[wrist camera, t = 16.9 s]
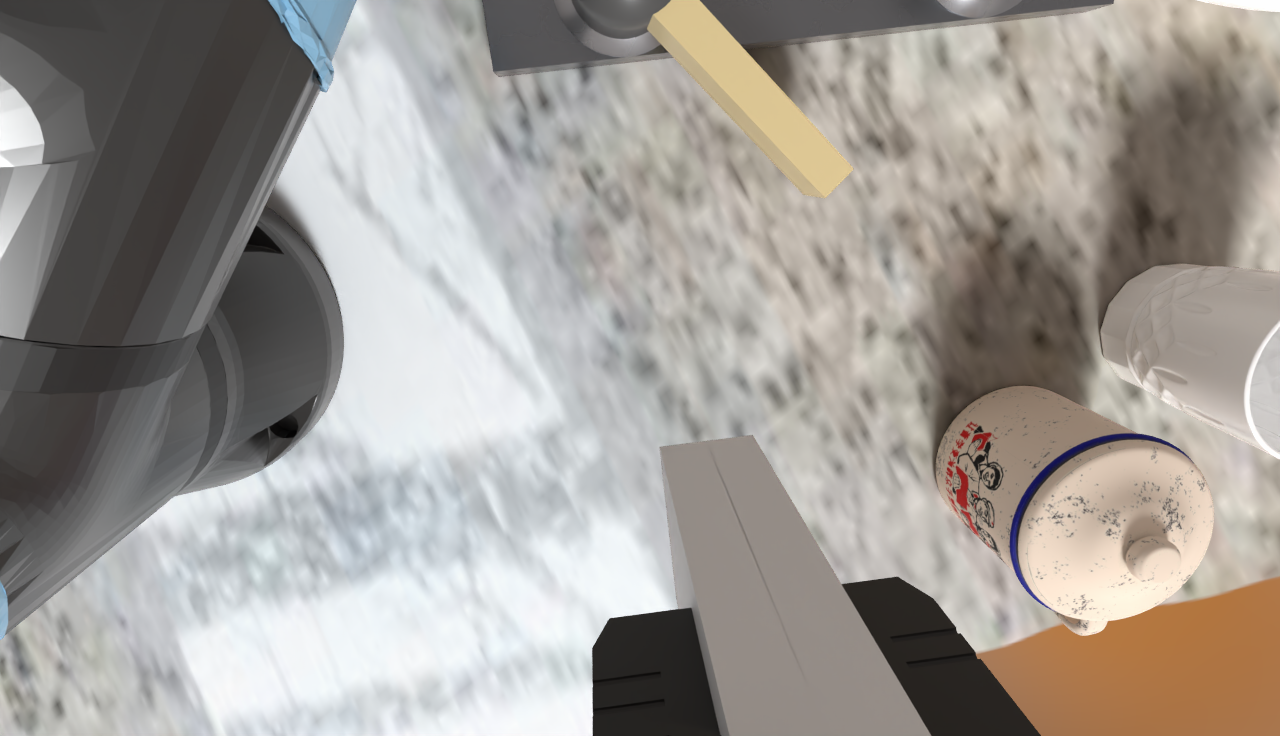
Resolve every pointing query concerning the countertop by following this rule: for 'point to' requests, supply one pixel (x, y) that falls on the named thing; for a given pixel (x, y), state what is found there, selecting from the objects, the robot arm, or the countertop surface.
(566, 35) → the dark grey knob panel
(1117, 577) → the teacup with lid
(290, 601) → the countertop surface
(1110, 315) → the white cup
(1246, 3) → the soap
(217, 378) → the robot arm
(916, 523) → the countertop surface
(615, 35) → the knob
